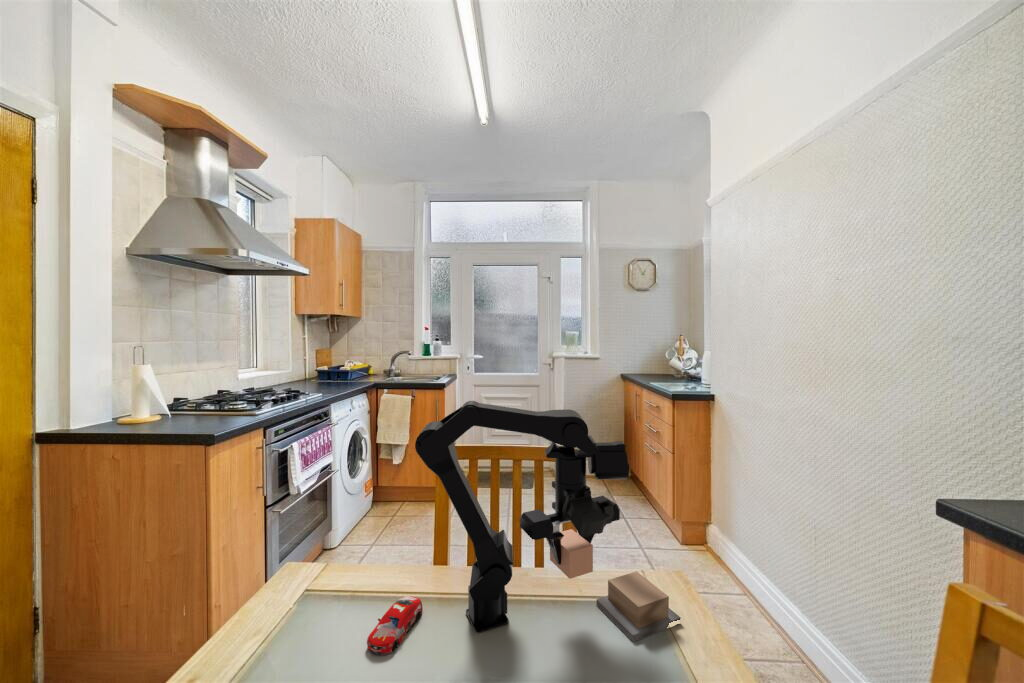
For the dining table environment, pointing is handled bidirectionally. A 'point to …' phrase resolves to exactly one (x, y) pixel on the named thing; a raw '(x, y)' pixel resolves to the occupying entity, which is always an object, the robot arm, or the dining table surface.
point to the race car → (394, 625)
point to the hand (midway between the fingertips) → (570, 560)
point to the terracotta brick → (574, 555)
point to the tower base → (629, 625)
